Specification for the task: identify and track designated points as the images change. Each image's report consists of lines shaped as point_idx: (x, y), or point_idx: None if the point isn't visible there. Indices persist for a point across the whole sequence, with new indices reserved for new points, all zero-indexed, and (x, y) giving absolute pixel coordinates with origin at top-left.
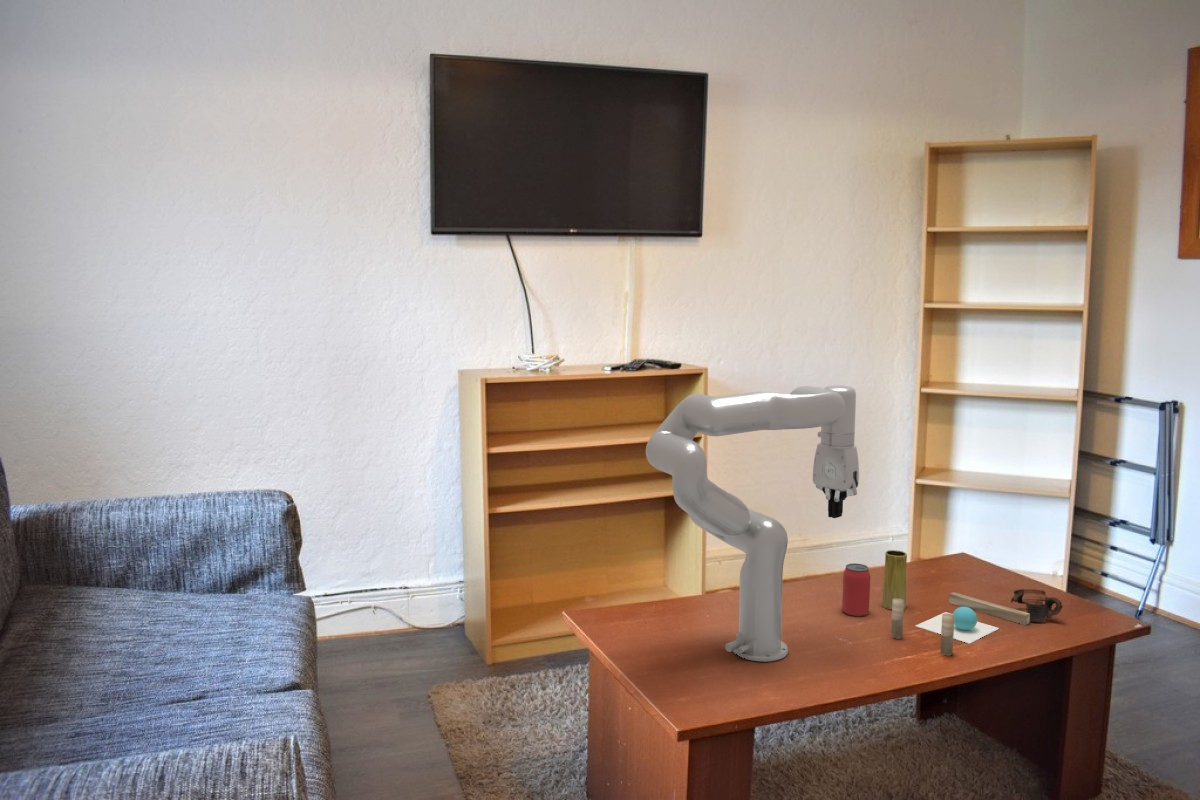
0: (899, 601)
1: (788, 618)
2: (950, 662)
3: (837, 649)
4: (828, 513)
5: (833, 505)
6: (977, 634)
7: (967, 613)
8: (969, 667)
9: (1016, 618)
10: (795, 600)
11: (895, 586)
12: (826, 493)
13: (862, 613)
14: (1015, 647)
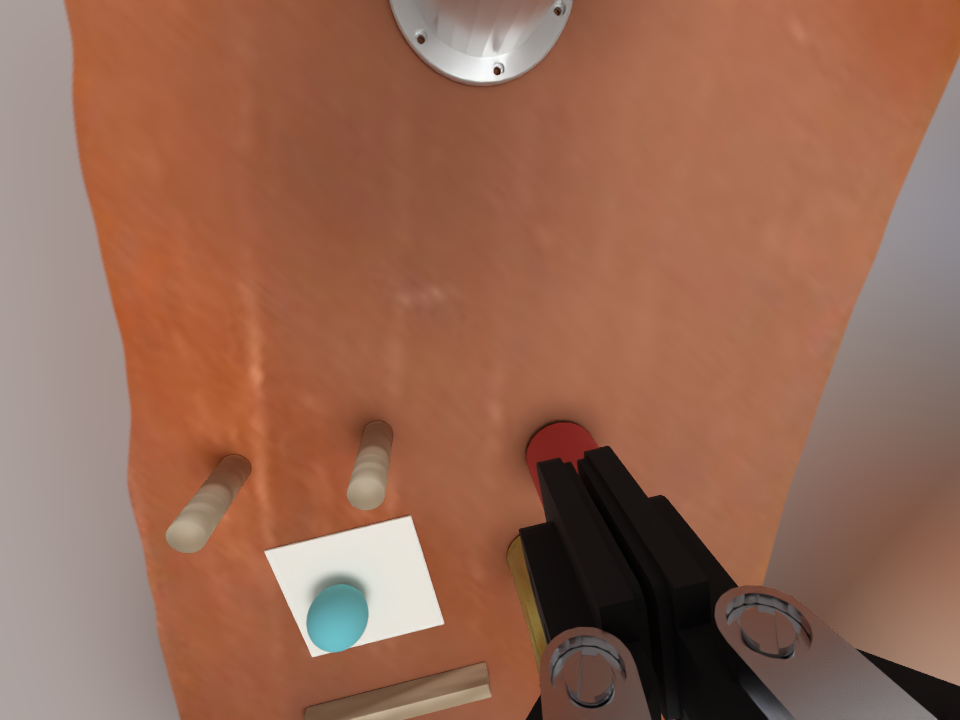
0: (355, 490)
1: (628, 260)
2: (184, 440)
3: (378, 231)
4: (616, 461)
5: (587, 556)
6: (302, 598)
7: (314, 628)
8: (141, 458)
9: (324, 712)
10: (712, 368)
11: (530, 588)
12: (862, 683)
13: (527, 450)
14: (209, 619)
